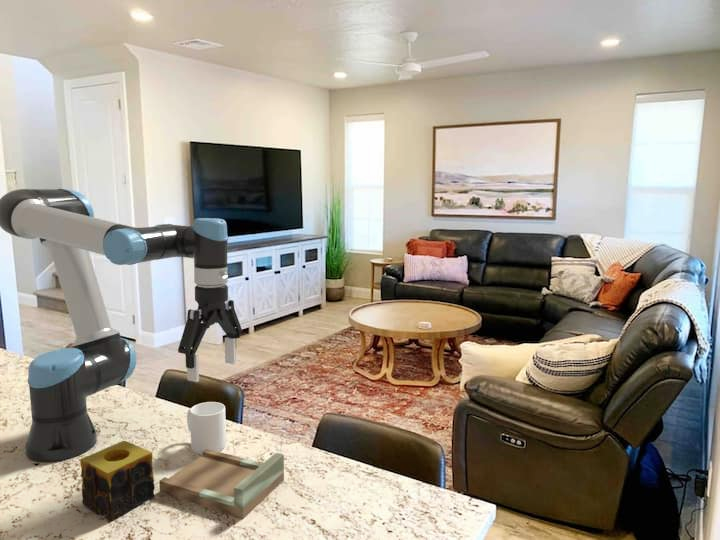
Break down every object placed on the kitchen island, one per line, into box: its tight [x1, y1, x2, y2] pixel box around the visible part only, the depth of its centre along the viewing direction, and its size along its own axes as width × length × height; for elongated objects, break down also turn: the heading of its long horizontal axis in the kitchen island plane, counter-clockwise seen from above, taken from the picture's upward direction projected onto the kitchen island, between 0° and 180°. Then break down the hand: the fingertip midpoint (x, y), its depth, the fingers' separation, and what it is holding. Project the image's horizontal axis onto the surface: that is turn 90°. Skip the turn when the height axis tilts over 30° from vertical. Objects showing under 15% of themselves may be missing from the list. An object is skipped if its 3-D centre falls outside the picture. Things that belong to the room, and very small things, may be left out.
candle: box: [79, 440, 155, 522], centre depth 105 cm, size 10×10×10 cm
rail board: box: [158, 449, 285, 519], centre depth 111 cm, size 21×15×6 cm
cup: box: [186, 401, 227, 456], centre depth 129 cm, size 8×12×10 cm
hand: (212, 371), depth 125 cm, fingers open, 13 cm apart
